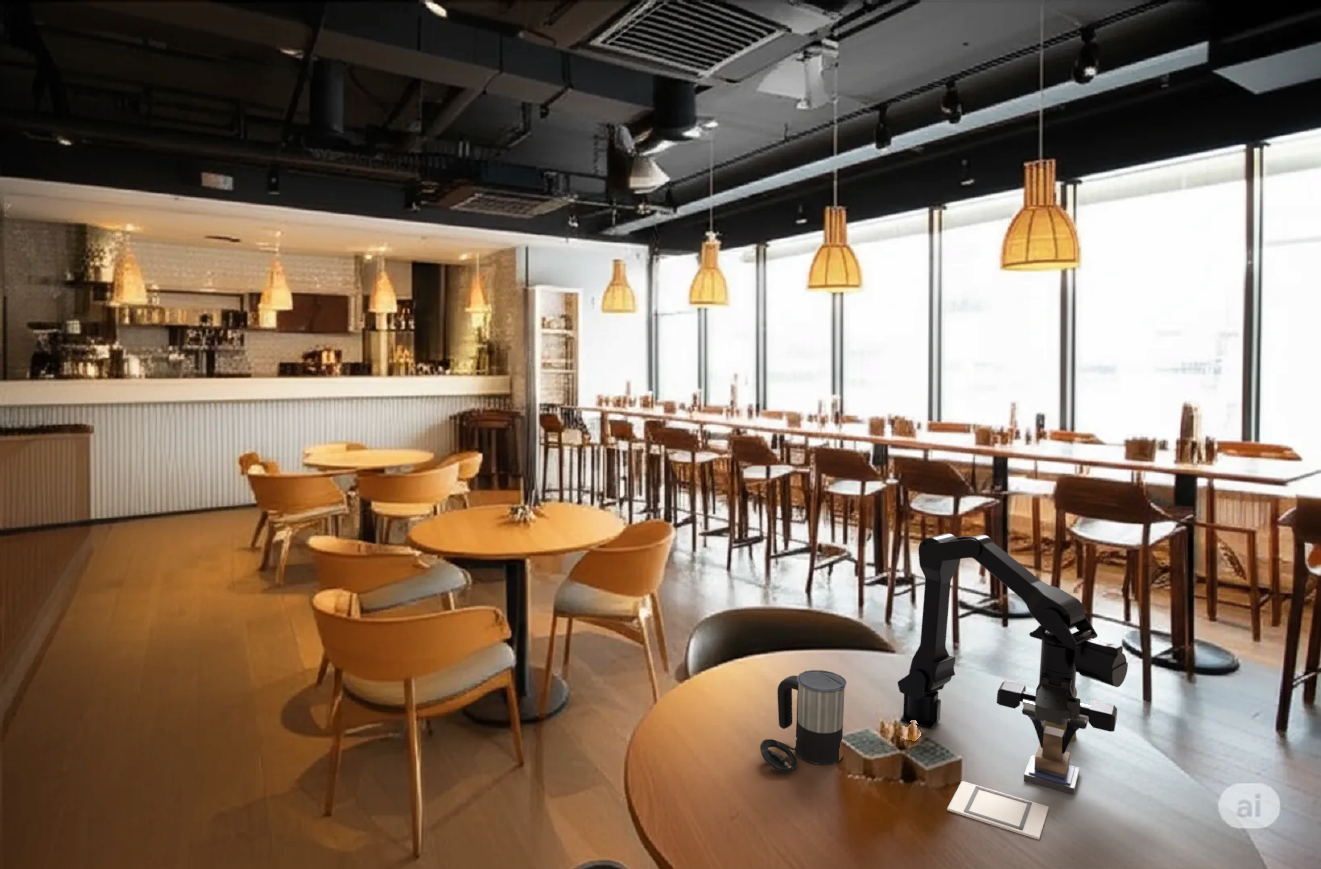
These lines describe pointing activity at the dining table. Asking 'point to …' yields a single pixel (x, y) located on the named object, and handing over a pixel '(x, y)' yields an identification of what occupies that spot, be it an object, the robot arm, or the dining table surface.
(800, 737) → the milk frother
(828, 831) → the dining table surface
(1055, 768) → the stamp
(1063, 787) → the ink pad
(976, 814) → the print card
